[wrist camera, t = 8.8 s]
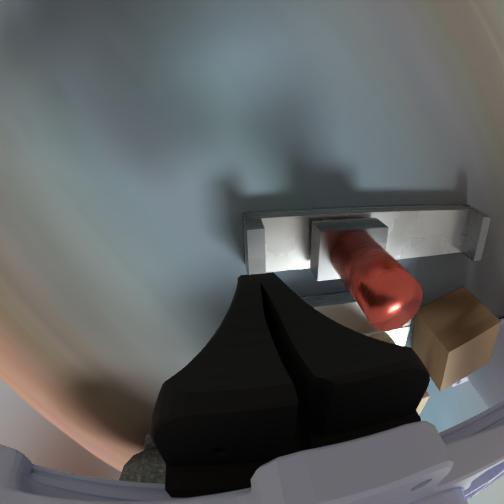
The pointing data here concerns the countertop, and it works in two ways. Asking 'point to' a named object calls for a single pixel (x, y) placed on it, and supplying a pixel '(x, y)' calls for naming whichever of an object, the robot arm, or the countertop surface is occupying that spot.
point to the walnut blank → (454, 336)
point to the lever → (365, 269)
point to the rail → (395, 217)
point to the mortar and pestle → (145, 465)
